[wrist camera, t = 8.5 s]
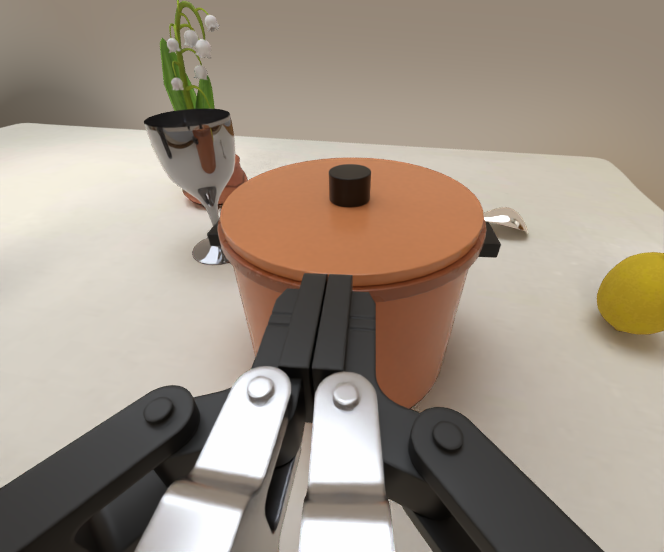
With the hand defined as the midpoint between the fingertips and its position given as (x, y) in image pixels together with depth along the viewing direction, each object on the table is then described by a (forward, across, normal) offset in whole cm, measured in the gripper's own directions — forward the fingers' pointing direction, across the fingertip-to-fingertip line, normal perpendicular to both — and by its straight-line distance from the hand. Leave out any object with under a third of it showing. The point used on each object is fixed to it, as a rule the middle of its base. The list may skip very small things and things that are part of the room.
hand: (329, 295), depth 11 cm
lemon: (+15, -24, +16) cm, 32 cm away
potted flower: (+40, +22, +15) cm, 48 cm away
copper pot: (+12, 0, +15) cm, 19 cm away
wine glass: (+26, +17, +15) cm, 34 cm away
